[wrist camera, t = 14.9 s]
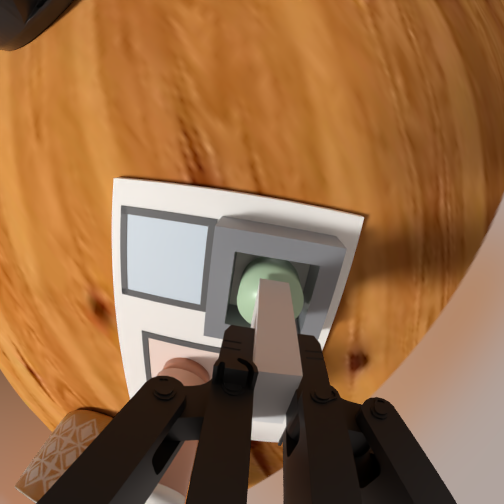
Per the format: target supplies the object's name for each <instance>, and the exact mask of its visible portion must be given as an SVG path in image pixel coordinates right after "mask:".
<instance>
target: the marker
mask: <svg viewBox="0 0 504 504" xmlns="http://www.w3.org/2000/svg"><path fill="white" fill-rule="evenodd" d="M157 376H170V377H174V378H176V379H177V380H179V381H181V382H182V384H183V385H184V386H195V385H201V384H204V383H207V382H208V381H210V376H209V374H208V372H207V370H206V369H205V368H204V367H203V366H202V365H200V364H199V363H197V362H195V361H193V360H191V359H187V358H173V359H170V360H168V361H167V362H166V363H165V365H164V367H163V369H162V371H160V372H159V373H158V374H157ZM197 445H198V440H190V441H185V442H184V444H183V445H182V447H181V448H180V450H179V452H178V453H177V455H176V456H175V458H174V460H173V461H172V463H171V464H170V466H169V467H168V469H167V471H166V472H165V474H164V475H163V477H162V478H161V480H160V481H159V483H158V484H157V486H156V487H155V489H154V490H153V492H152V494H151V495H150V497H149V498H148V500H147V501H146V502H145V504H184V503H185V499H186V494H187V490H188V485H189V481H190V476H191V472H192V467H193V463H194V458H195V454H196V449H197Z"/></svg>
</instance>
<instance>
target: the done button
mask: <svg viewBox="0 0 504 504" xmlns="http://www.w3.org/2000/svg"><path fill="white" fill-rule="evenodd" d="M260 278H262V279H268V280H274V281H280V282H287V283H289V286H290V292H291V298H292V304H293V311H294V317H295V319H296V318H297V317H298V316H299V314H300V312H301V310H302V308H303V303H304V297H303V292H302V288H301V284H300V280H299V276H298V273H297V270H296V269H295V267H294V266H293V265H292V264H291V263H290V262H289V261H287V260H282V259H276V258H270V257H264V256H262V257H259V258H256V259H254V260H253V261H251V262H250V263H249V264H248V265H247V266H246V267H245V269H244V271H243V273H242V276H241V280H240V285H239V290H238V295H237V306H238V310H239V312H240V314H241V315H242V317H243V318H244V319H245V320H246V321H247V322H248V323H250V324H251V321H252V316H253V311H254V306H255V301H256V296H257V290H258V285H259V280H260Z"/></svg>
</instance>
